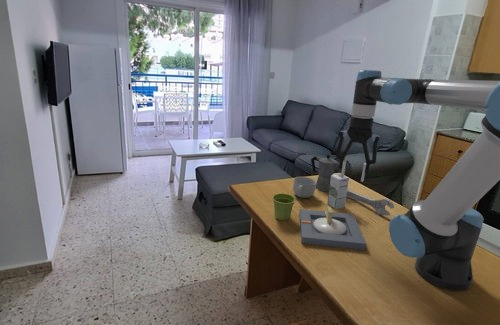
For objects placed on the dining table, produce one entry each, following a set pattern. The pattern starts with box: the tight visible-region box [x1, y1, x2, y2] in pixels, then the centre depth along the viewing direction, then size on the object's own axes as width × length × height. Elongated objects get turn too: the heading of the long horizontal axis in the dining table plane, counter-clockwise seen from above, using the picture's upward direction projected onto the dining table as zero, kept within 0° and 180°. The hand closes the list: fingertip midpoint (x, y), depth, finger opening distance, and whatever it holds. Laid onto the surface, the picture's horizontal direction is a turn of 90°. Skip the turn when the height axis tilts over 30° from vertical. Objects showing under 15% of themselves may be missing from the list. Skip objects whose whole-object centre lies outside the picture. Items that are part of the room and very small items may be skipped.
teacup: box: [292, 176, 317, 199], centre depth 144 cm, size 14×11×8 cm
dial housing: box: [298, 208, 367, 251], centre depth 116 cm, size 22×22×3 cm
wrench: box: [346, 189, 395, 216], centre depth 138 cm, size 8×2×30 cm
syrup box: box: [327, 173, 350, 210], centre depth 135 cm, size 6×6×14 cm
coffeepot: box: [310, 154, 340, 192], centre depth 155 cm, size 15×9×18 cm, turn 55°
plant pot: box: [272, 192, 297, 221], centre depth 123 cm, size 9×9×9 cm
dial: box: [314, 205, 346, 235], centre depth 115 cm, size 12×12×6 cm
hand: (352, 178), depth 112 cm, fingers open, 6 cm apart
